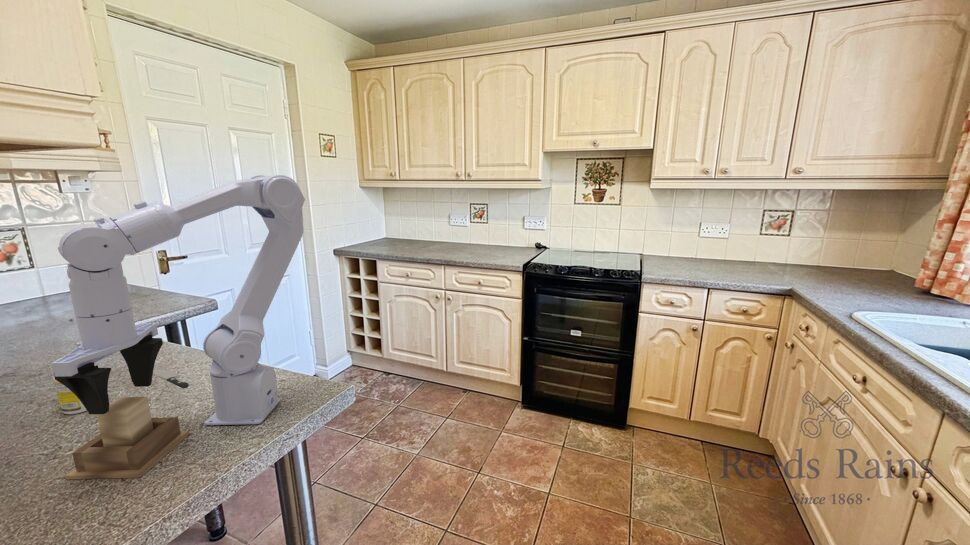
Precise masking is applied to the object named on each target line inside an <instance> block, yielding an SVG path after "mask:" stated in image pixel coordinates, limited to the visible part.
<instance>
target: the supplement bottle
mask: <svg viewBox="0 0 970 545" xmlns="http://www.w3.org/2000/svg"><path fill="white" fill-rule="evenodd" d="M61 358H62V357H61ZM61 358H58V359H56V360H55V361H57V360H59V359H61ZM52 379H53V384H54V387H55V391H56V395H57V399H58V403H59V404H58V405H59V407H60V410H61V413H62V414H65V415H75V414H79V413H83V412H88V411H87V410H86V408H85V407H84V405H83V404H82V403H81V401H80V400H79V399H78V397H77V396H76V395H75V394H74V393H73V392H72V391H71V390H69V389H68V388H67V387H66V386H64V385H63V384H61V383H60V382H58V381H57V380H55V377H54V375H53V378H52Z"/></svg>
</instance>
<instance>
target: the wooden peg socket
mask: <svg viewBox="0 0 970 545" xmlns="http://www.w3.org/2000/svg"><path fill="white" fill-rule="evenodd" d="M151 418H152V424H153V429H154V430H153V431H152V432H151V433H150V434H148V435H147V436H146V437H144V438H143V439H142V440H141V441H139V442H138V443H137V444H135V445H134V446H122V447H104V446H103V441H102V437H101V433H100V434H98V435H97V436H95V437H94V438H92V439H90V440H89V441H88V442H86V443H85V444H83V445H82V446H81V447H79V448H77V449H76V450H75V451H73V452H72V458H73V462H74V463H73V464H74V467H75V468H74V469H72V470H71V471H70V472H68V473H67V474H66V475H64V477H65V480H66V481H68V480H95V479H96V480H97V479H99V480H100V479H131V478H132V479H133V478H142V477H143V476H144V475H145V474H147V473H148V472H149V471H150V470H151V469H152V468H153V467H154V466H155V465H156V464H158V463H159V462H160V461H161V460H162V459H163V458H164V457H166V456H167V455H168V454H169V452H171V451H172V450H173V449H174V448H176V447H177V446H178V445H179V444H180V443H181V442H183V440H184V439H186V437H188V436H189V435H190V430H181V429H180V427H181V426H180V423H179V417H178V416H176V417H173V416H172V417H151Z"/></svg>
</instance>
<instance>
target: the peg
mask: <svg viewBox="0 0 970 545" xmlns="http://www.w3.org/2000/svg"><path fill="white" fill-rule="evenodd" d="M149 402H150V401H149V398H148V396H127V397H126V396H120V397H118V398H116V399H115V400H113V401H112V402H109V412H107V413H105V414H96V418H97V422H98V426H99V432H100V434H101V437H102V441H103V446H104V447H122V446H134V445H135V444H137V443H138V442H139V441H141V440H142V439H143V438H144V437H146V436H147V435H148V434H150V433H151V432H152V431H153V430H154V429H153V424H152V418H153V417H152V414H151V408H150V403H149Z"/></svg>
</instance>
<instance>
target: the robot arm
mask: <svg viewBox="0 0 970 545" xmlns="http://www.w3.org/2000/svg"><path fill="white" fill-rule="evenodd" d="M305 201H306V199H305V197H304V194H303V193H302V191H301V188H300V187H299V185H298V183H297V182H296V181H295V180H294V179H293V178H292V177H291V176H290V177H289V176H287V175H284V174H276V175H268V176H267V175H255V176H251V177H250V178H244V179H238V180H234V181H230V182H228V183H227V182H226V183H225V184H222V185H220V186H217V187H214V188H212V189H210V190H207V191H205V192H202V193H199V194H196V195H195V196H192V197H189V198H187V199H185V200H181V201H179V202H177V203H174V204H172V205H167V204H164V203H162V202H158V201H153V202H150V203H147V201H143V200H142V201H139V202H138V201H137V202H135V203H133V206H134V208H132V209H130V210H127V211H124V212H121V213H118V214H115V215H112V216H110V217H109V216H108V217H106V218H105V217H104V216H102V215H101V216H98V217H95V218H93V221H94V223H95V224H96V225H97V226H94V225H80V226H77V227H76V226H75V227H73V228H70V229H69V230H68V231H67V230H66V232H65V233H64V234H63V236H61V238H60V240H59V244H58V245H59V246H58V247H57V250H58V253H59V255H60V256H61V257H62V258H63V259H64V260H66V262H68V264H66V265H67V269H66V275H67V277H68V279H69V280H70V281H69V282H68V288H69V292H70V298H71V301H72V302H71V303H72V306H73V309H74V310H73V311H74V315H75V318H76V323H77V329H78V333H79V337H80V341H77V342H76V348H75V349H73V350H71V351H70V352H68V353H66V354H65V355H64V356H63V357H61V359H60V358H58V359H59V360H58V359H56V360H57V361H56V360H54V361H52V362H51V366H52V371H53V376H54V377H55V380H57V381H58V382H60V383H61V384H63V385H64V386H66V387H67V388H68V389H69V390H71V391H72V392H73V393H74V394H75V395H76V396H77V397H78V399H79V400H80V401H81V403H82V404H83V405H84V407H85V408H86V410H87V411H86V412H87V413H88V415H92V416H93V415H97V414H105V413H107V412H109V404H110V399H109V392H108V390H109V389H108V388H109V380H110V379H109V378H110V374H111V372H112V367H99V366H98V364H97V365H95V363H96V362H99V361H101V360H103V359H105V358H108V357H109V356H112V355H113V354H116V353H118V352H119V353H120V354H121V356H122V357H123V360H124V361H125V364H126V366H127V368H128V372H129V376H130V379H131V382H132V384H133V386H134V388H135V387H136V388H137V387H139V388H141V387H149V386H151V385H152V382H153V375H154V374H153V370H154V369H155V365H156V360H157V357H158V355H159V353H160V350H161V348H162V346H163V345H164V342H163V338H161V337H155V336H158V335H159V330H158V324H157V323H153V322H152V323H142V324H140V325H137V326H136V323H135V317H134V313H133V308H132V301H131V296H130V291H129V287H128V286H129V285H128V281H127V277H126V276H125V275H124V270H123V266H122V262H123V261H124V259H125V256H127V255H129V256H130V255H131V256H134V255H136V254H139V253H141V252H143V251H147V250H148V249H151V248H154V247H156V246H158V245H161V244H163V243H165V242H169V241H170V240H173V239H175V238H178V237H180V236H181V233H182V230H183V227H184V226H185V225H187V224H189V223H192V222H195V221H198V220H200V219H204V218H206V217H209V216H211V215H214V214H217V213H220V212H223V211H226V210H228V209H231V208H234V207H251V208H252V209H253V210H255V212H256V213H257V214H258V215H260V217H261V219H262V221H263V222H264V224H265V226H266V228H267V230H268V234H267V236H266V238H265V240H264V242H263V244H262V246H261V248H260V250H259V252H258V254H257V256H256V258H255V261H254V262H253V265H252V267H251V269H250V271H249V273H248V275H247V277H246V279H245V281H244V284H243V285H242V287H241V289H240V291H239V293H238V296H237V298H236V300H235V302H234V304H233V306H232V308H231V310H230V311H229V312H227V313H226V314H225V315H223V316H222V317H221V318H220V320H219V322H218V324H217V326H216V327H215V328H213V329H212V330H210V332H208V334H207V335H206V336H205V337H204V340H203V344H202V347H203V348H202V349H203V352H204V353H205V355H206V356H207V357H209V358H210V359H212V362H211V366H210V368H209V376H210V382H211V383H210V384H211V388H212V397H213V401H214V409H215V410H214V411H215V412H214V413H213V414H212V415H211V416H210V417H208V418H207V419H206V420H205V421H204V425H205V426H222V425H224V426H227V425H230V426H231V425H235V426H236V425H259V424H262V423H263V421H264V420H265V419H266V418H267V417H268V415H269V414H270V413H272V411H273V410H274V408H275V407H276V406H277V405H278V404H279V403H280V402H281V398H280V397H279V395H278V385H277V376H276V375H277V374H276V371H275V369H274V367H272V366H270V365H269V366H267V365H263V364H262V363H259V361H260V358H261V355H262V343H263V339H264V337H265V329H264V319H265V318H266V316H267V312H268V310H269V309H270V306H271V304H272V302H273V300H274V298H275V295H276V293H277V292H278V289H279V286H280V285H281V282H282V280H283V278H284V276H285V274H286V272H287V270H288V268H289V267H290V266H289V265H290V263H291V261H292V259H293V257H294V255H295V253H296V251H297V248H298V246H299V244H300V241H301V239H302V237H303V235H304V218H303V217H304V215H303V206H304V204H305Z"/></svg>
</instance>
